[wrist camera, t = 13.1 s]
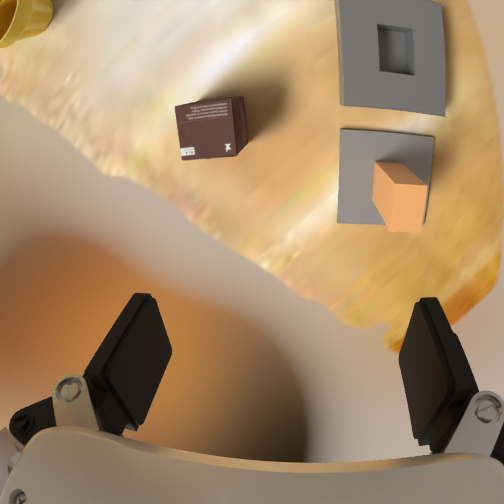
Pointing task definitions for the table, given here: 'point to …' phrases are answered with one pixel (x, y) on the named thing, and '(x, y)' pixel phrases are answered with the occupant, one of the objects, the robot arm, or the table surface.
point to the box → (212, 128)
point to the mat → (362, 169)
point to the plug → (399, 196)
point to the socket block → (392, 55)
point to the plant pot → (23, 19)
